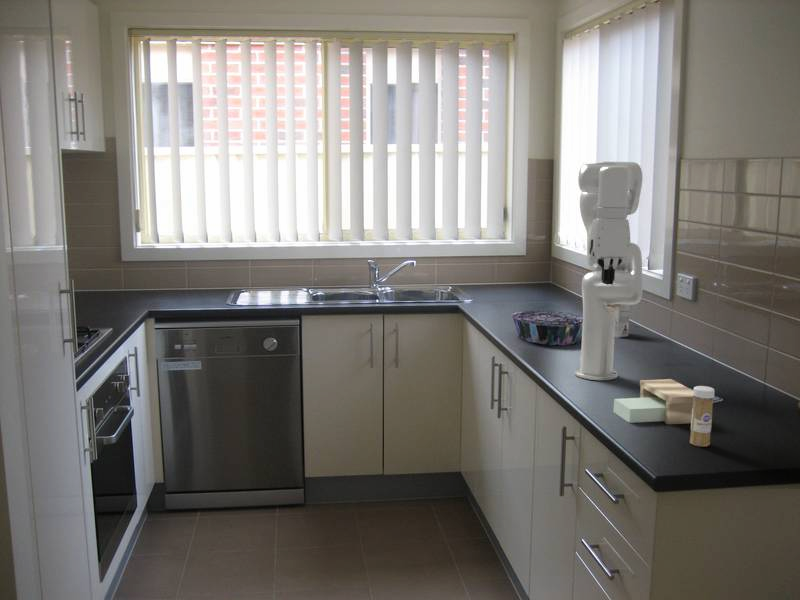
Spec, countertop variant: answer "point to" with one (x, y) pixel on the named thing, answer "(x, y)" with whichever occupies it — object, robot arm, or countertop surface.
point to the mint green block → (641, 409)
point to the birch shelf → (670, 398)
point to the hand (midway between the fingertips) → (607, 283)
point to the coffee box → (620, 318)
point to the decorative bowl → (549, 327)
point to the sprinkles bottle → (701, 416)
